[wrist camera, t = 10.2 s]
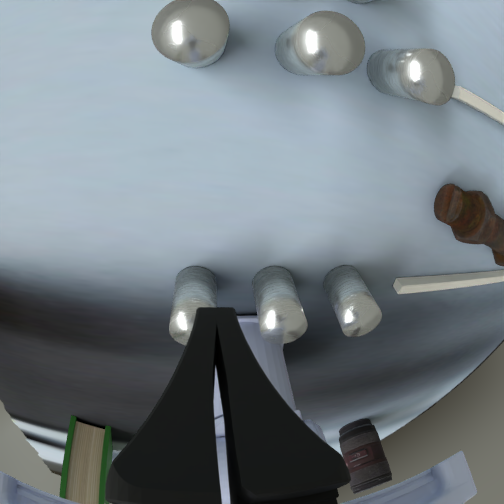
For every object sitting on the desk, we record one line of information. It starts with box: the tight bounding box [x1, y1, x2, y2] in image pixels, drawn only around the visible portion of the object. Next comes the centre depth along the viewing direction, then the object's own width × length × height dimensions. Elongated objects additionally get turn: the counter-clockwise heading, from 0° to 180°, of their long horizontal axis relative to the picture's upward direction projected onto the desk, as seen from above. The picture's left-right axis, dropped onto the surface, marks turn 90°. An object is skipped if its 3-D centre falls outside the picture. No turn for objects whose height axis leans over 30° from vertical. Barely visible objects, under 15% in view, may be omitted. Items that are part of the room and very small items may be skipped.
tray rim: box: [393, 86, 504, 294], centre depth 21 cm, size 19×25×1 cm
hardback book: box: [60, 415, 113, 504], centre depth 31 cm, size 18×7×24 cm, turn 157°
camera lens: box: [339, 419, 392, 494], centre depth 41 cm, size 8×8×15 cm
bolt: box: [434, 184, 504, 266], centre depth 20 cm, size 6×5×15 cm
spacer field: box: [151, 0, 455, 345], centre depth 15 cm, size 26×15×5 cm, turn 176°
